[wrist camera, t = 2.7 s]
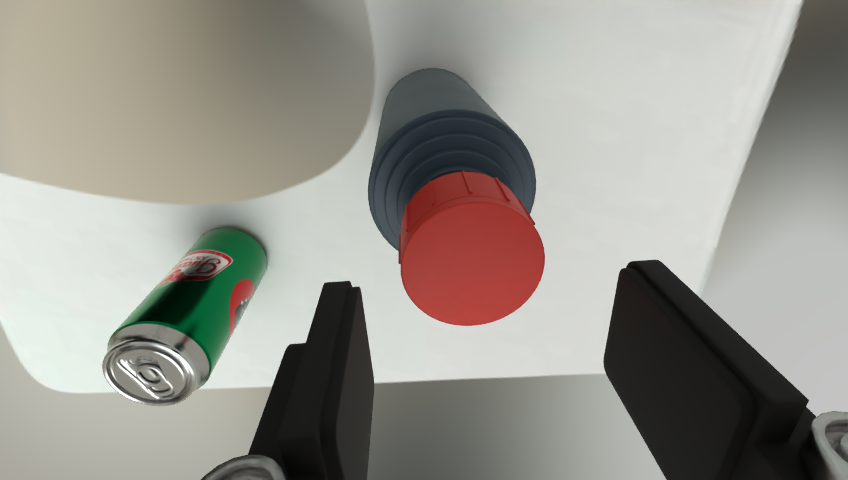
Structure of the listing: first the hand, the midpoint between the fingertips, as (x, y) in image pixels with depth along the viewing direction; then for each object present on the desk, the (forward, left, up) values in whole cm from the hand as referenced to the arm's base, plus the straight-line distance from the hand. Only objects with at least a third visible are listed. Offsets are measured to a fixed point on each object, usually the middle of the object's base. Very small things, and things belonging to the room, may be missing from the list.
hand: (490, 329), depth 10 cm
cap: (0, 0, -3) cm, 3 cm away
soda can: (-7, -16, -21) cm, 27 cm away
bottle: (0, 0, -21) cm, 21 cm away
